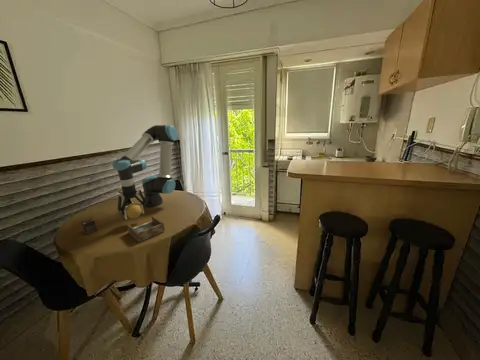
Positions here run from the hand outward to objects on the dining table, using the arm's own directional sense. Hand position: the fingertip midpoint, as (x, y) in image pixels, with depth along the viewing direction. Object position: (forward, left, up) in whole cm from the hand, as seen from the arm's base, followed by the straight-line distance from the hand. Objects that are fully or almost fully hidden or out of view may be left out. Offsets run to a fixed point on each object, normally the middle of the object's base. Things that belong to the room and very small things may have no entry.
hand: (134, 215), depth 136 cm
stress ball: (0, 0, -2) cm, 2 cm away
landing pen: (0, +16, -6) cm, 17 cm away
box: (+24, -13, -6) cm, 28 cm away
